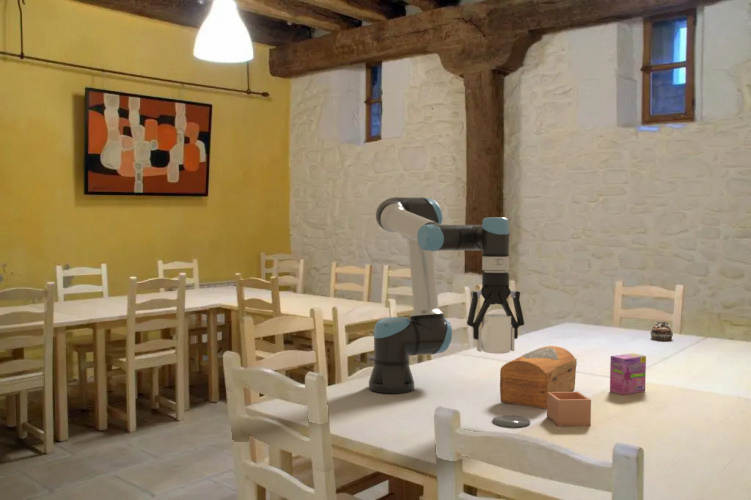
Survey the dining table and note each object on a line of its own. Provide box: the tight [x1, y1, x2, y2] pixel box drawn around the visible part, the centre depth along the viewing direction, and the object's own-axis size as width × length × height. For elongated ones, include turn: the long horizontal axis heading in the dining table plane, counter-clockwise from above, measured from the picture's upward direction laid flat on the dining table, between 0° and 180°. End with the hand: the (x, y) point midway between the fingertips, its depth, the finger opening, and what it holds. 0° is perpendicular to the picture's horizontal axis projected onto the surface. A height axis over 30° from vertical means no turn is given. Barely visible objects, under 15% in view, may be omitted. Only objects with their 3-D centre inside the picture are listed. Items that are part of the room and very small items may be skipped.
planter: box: [546, 391, 592, 427], centre depth 188 cm, size 9×9×7 cm
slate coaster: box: [492, 414, 531, 429], centre depth 187 cm, size 10×10×1 cm
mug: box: [481, 313, 512, 355], centre depth 194 cm, size 12×8×10 cm
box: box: [609, 352, 647, 396], centre depth 223 cm, size 10×6×12 cm, turn 117°
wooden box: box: [499, 345, 578, 410], centre depth 218 cm, size 30×16×14 cm, turn 147°
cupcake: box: [650, 321, 674, 342], centre depth 317 cm, size 10×10×10 cm
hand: (495, 350), depth 196 cm, fingers closed on mug, 9 cm apart
